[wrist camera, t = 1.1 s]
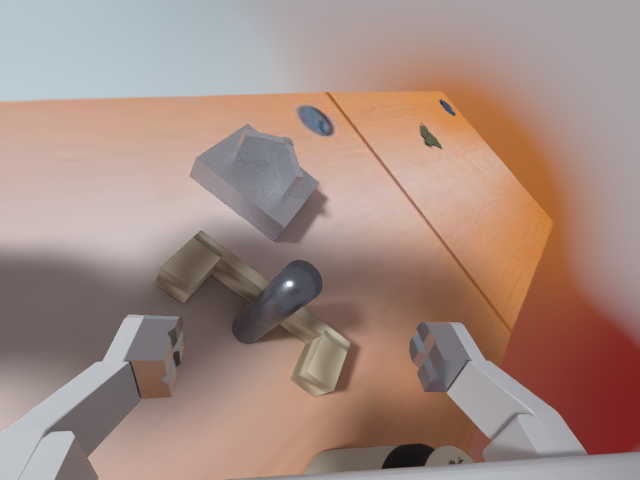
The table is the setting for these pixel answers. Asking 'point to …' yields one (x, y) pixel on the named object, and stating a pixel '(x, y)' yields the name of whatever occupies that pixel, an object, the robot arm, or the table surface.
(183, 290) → the notched beam
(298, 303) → the steel axle
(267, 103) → the table surface
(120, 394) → the robot arm
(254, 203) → the v block
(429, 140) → the olive green flat piece
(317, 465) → the travel mug
